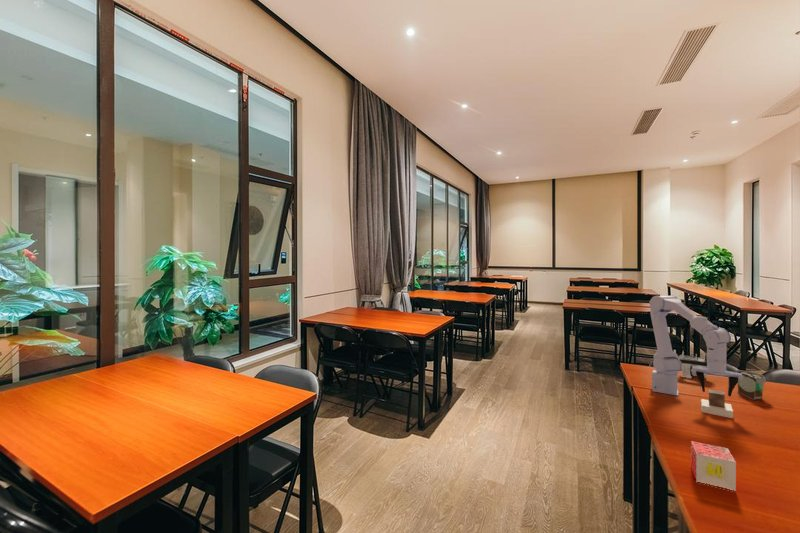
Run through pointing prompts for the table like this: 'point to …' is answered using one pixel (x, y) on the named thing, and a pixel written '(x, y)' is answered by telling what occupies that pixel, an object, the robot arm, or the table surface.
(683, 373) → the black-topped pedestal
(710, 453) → the pink and white box
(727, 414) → the base block
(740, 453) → the table surface
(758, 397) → the food container
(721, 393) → the grayish beige block
